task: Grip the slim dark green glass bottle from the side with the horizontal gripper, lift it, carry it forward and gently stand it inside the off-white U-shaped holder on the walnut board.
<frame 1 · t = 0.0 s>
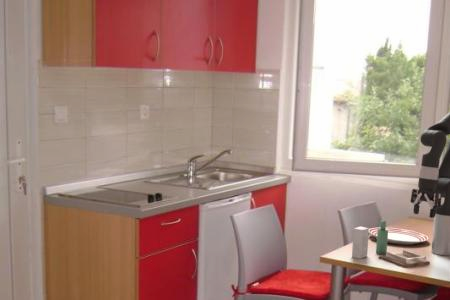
hand: (423, 215, 251), 17 cm above the table, tool pointing down, fingers open, 8 cm apart
dinner plate: (397, 240, 282), on the table
green bottle: (381, 253, 254), on the table
skincare box: (359, 257, 247), on the table
bottle holder: (403, 261, 243), on the table
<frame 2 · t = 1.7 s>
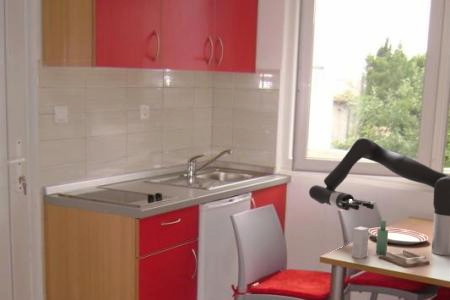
hand: (365, 207, 262), 18 cm above the table, tool horizontal, fingers open, 8 cm apart
nothing on the table moved.
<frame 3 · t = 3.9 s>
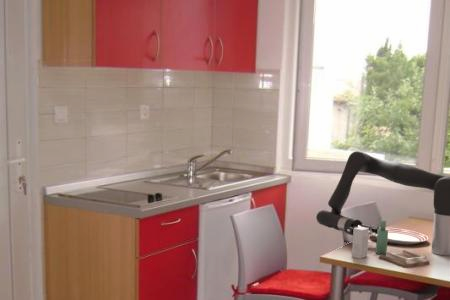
hand: (374, 233, 258), 7 cm above the table, tool horizontal, fingers open, 8 cm apart
nothing on the table moved.
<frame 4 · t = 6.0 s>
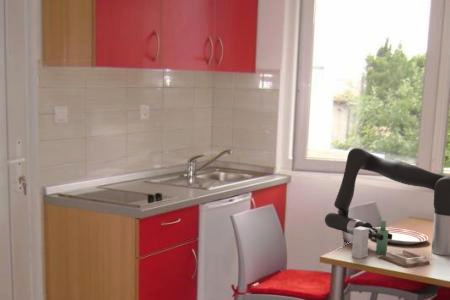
hand: (387, 237, 251), 8 cm above the table, tool horizontal, fingers closed on green bottle, 4 cm apart
green bottle: (381, 253, 254), on the table, touching gripper
everything else where it was.
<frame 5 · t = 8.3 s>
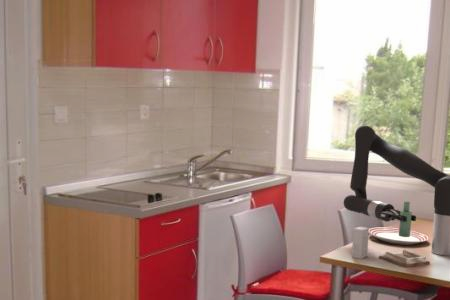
hand: (410, 218, 240), 18 cm above the table, tool horizontal, fingers closed on green bottle, 4 cm apart
green bottle: (404, 235, 243), point 10 cm above the table, touching gripper
everything else where it was.
when the fingers open (9 cm above the table, at t = 11.0 s): green bottle stays where it is, resting on bottle holder.
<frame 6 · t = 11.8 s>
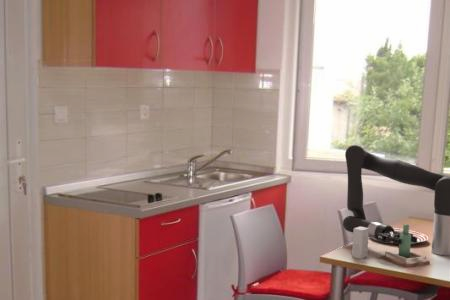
hand: (409, 240, 240), 9 cm above the table, tool horizontal, fingers open, 8 cm apart
green bottle: (403, 258, 243), point 1 cm above the table, touching bottle holder
everything else where it was.
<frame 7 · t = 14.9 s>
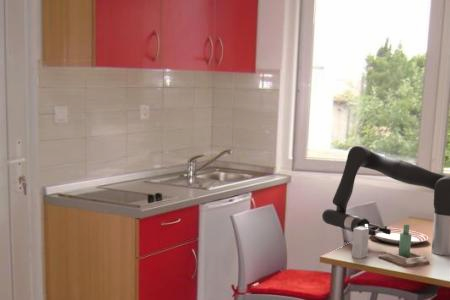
hand: (382, 232, 253), 9 cm above the table, tool horizontal, fingers open, 8 cm apart
nothing on the table moved.
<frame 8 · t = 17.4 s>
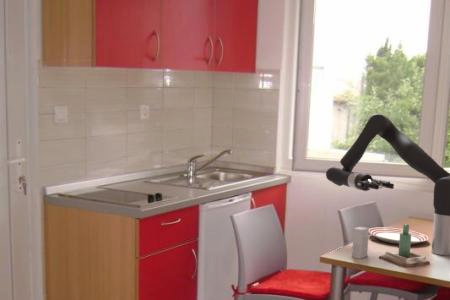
hand: (385, 186, 256), 28 cm above the table, tool horizontal, fingers open, 8 cm apart
nothing on the table moved.
at the end: green bottle 0.1 cm off-centre on the bottle holder, point 1.0 cm above the bottle holder's base; green bottle tilted 1°; the gripper is holding nothing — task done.
